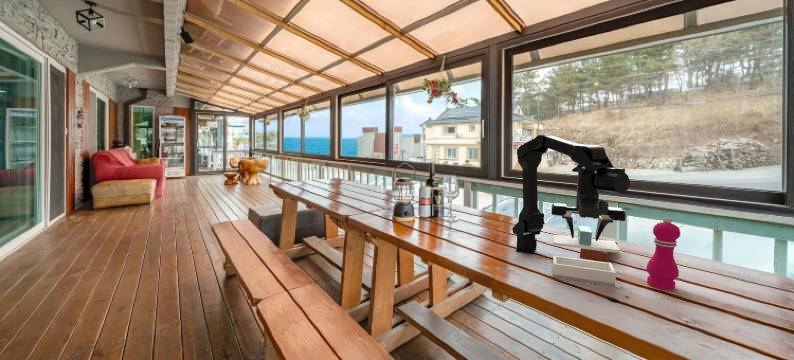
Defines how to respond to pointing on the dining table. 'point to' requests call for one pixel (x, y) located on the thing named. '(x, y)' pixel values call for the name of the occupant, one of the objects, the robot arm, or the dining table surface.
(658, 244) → the pepper mill
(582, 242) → the lid
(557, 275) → the box base
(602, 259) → the carton
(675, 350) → the dining table surface
